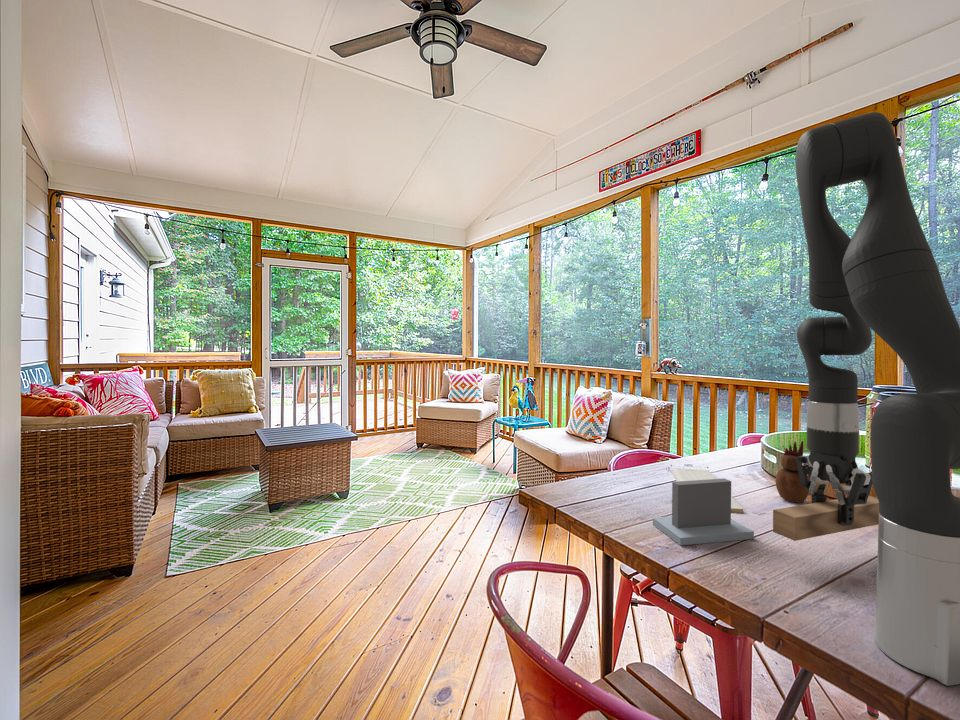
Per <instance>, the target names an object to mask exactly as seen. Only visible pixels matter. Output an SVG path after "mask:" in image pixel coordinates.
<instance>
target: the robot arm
mask: <svg viewBox="0 0 960 720" xmlns="http://www.w3.org/2000/svg"><path fill="white" fill-rule="evenodd" d="M899 149H900V148H899V144H898V142H897V138H896V135H895V132H894V128H893V126H892V123H891V122H890V121H889V119H888V118H887V117H886V116H885V115H884V114H883V113H881V112H869V113H863V114H862V113H861V114H859V115H855V116H852V117H848V118H845V119H842V120H838V121H835V122H831V123H826V124H824V125H820V126H817V127H814V128H811V129H808V130H806V131H805V132H803V134H802V135H801V136H800V138H799V139H798V142H797V146H796V149H795V151H796V152H795V174H796V183H797V191H798V196H799V197H798V198H799V204H800V209H801V210H800V211H801V215H802V216H801V217H802V223H803V229H804V234H805V240H806V247H807V252H808V255H807V256H808V267H809V268H808V271H809V272H808V298H809V299H808V300H809V303H810V305H811V306H812V307H813V308H814V309H817V310H820V311H824V312H830V313H831V312H832V313H837V314H840V315H842V316H825V317H823V316H821V317H820V316H819V317H808V318H806V319H804V320H803V321H802V322H801V323H800V324H799V326H798V327H797V330H796V338H797V342H798V346H799V348H800V351H801V354H802V357H803V359H804V363H805V366H806V371H807V378H808V379H807V380H808V403H807V409H806V448H807V450H808V451H809V454H808V455H803V456H797V457H796V463H797V467H798V472H799V476H800V481H801V485H802V487H803V488H807V489H809V493H810V494H811V503H817V502H823V501H828V500H827V494H826V492H827V489H828V485H830V484H831V489H832V490H833V491H834V492H835V494H836V497H837V499H838V502H839V504H838V524H840V525H842V526H846V525H851V524H852V523H853V521H854V506H855V505H857V504H866V502H867V499H868V496H870V494H871V489H872V488H873V490H874V493H875V497H876V498H878V501H879V524H878V533H877V535H878V536H877V561H876V562H877V563H876V565H877V566H876V593H875V594H876V595H875V599H876V600H875V601H876V602H875V629H874V631H875V633H874V635H875V636H874V639H875V641H874V642H875V643H876V645H877V647H878V648H879V649H880V650H881V651H882V652H883V653H884V654H885V655H886V656H888V657H889V658H890V659H891V660H893V661H895V662H896V663H898V664H900V665H902V666H904V667H905V668H907V669H910V670H911V671H914V672H916V673H918V674H921V675H923V676H927V677H929V678H932V679H934V680H937V681H938V682H940V683H941V684H943V685H945V686H947V687H948V686H949V687H950V686H955V685H956V686H957V685H960V496H959V497H958V496H956V495H954V494H953V491H952V486H951V485H952V484H951V472H950V471H951V470H960V325H959V322H958V319H957V317H956V314H955V312H954V309H953V307H952V306H951V303H950V301H949V297H948V295H947V293H946V290H945V286H944V283H943V279H942V276H941V273H940V271H939V268H938V265H937V262H936V259H935V257H934V254H933V252H932V250H931V247H930V245H929V243H928V241H927V238H926V235H925V233H924V231H923V229H922V226H921V223H920V220H919V218H918V215H917V211H916V209H915V207H914V204H913V201H912V198H911V195H910V191H909V188H908V182H907V180H906V175H905V171H904V167H903V162H902V158H901V154H900V150H899ZM858 181H862V182H863V183H864V185H865V187H866V193H867V204H866V207H865V210H864V212H863V215H862V218H861V220H860V222H859V224H858V226H857V228H856V229H855V232H854V234H853V236H852V238H851V237H850V236H849V235H848V234H847V233H846V232H845V230H843V228H842V227H841V226H840V225H839V224H838V222H837V221H836V220H835V218H834V217H833V215H832V214H831V211H830V209H829V207H828V201H827V193H826V191H827V189H831V188H834V187H839V186H842V185H847V184H850V183H855V182H858ZM871 330H872V331H873V332H874V333H875V334H876V335H878V337H880V338H881V339H882V340H883V341H884V342H885V343H886V344H887V345H888V346H889V347H890V348H891V349H892V350H893V351H894V352H895V353H896V354H897V356H898V357H899V358H900V359H901V361H902V362H903V364H904V366H905V367H906V370H907V371H908V373H909V375H910V377H911V381H912V383H913V386H914V389H915V393H901V394H900V393H899V394H895V395H891V396H889V397H886V398H885V399H883V400H882V401H881V402H880V403H879V404H878V405H877V407H876V408H875V410H874V413H873V415H872V417H871V418H872V419H871V423H870V456H871V457H870V458H871V461H870V462H871V472H864V470H861V469H860V468H859V467H858V464H857V461H856V457H857V456H858V455H859V454H860V412H859V405H858V401H859V399H858V397H859V396H858V393H859V392H858V391H859V390H858V387H859V385H858V384H859V381H858V380H859V379H858V375H857V373H856V372H855V371H853V370H850V369H847V368H841V367H840V368H839V367H835V366H830V365H827V364H826V363H825V362H824V361H823V360H822V356H858V355H861V354H863V353H865V352H866V351H867V350H868V349H870V348H869V347H870V346H871V345H872V341H873V335H872V331H871ZM807 475H808V477H809V481H808V480H807ZM843 484H845V485H843ZM872 486H873V487H872Z"/></svg>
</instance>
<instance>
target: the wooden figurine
mask: <svg viewBox="0 0 960 720" xmlns="http://www.w3.org/2000/svg"><path fill="white" fill-rule="evenodd" d="M804 442H805V441H803V440H802V441H801V442H800V445H799V447H797V442H796V441H794V443H793V447H792V445H789V447H788V448H787V447H786V448H784V449H785V450H784V452H783V455H782V457H781V458H780V465H781V467H782V468H781V469H779V470H778V471H777V473H776V474H775V486H776V489H777V493H778V494H779V497H780V498H782V499H783V500H785V501H786V502H790V501H791V503H798V504H799V503H804V502H805V500H806V499H807V498H808V497H809V493H810V492H809V489H807V488H803V487H802V485H801V481H800V476H799V472H798V467H797V463H796V457H797V456H804ZM807 480H808V481H809V476H808V474H807Z"/></svg>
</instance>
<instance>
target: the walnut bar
mask: <svg viewBox="0 0 960 720" xmlns="http://www.w3.org/2000/svg"><path fill="white" fill-rule="evenodd" d="M838 504H839V502H838V499H830V500H826V501H823V502H817V503H812V502H811V503H807V504H800V505H794V506H789V507H788V506H787V507H783V508H777V509H776V508H775V509H772V533H775V534H778V535H780V536H781V537H784V538H787V539H789V540H791V541H794V542H796V541H801V540H807V539H811V538H816V537H817V538H818V537H821V536H826V535H832V534H836V533H837V534H838V533H841V532H842V533H843V532H848V531H853V530H856V529H858V530H859V529H862V528H863V529H864V528H867V527H872V526H877V525H878V526H879V501H878V498H877V497H876V496H871V495H869V496H868V499H867V502H866V504H857V505H855V506H854V521H853V523H852V524H851V525H846V526H842V525H840V524H838Z"/></svg>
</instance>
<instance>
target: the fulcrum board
mask: <svg viewBox="0 0 960 720" xmlns="http://www.w3.org/2000/svg"><path fill="white" fill-rule="evenodd" d="M671 485H672V486H671V488H672V489H671V492H672V493H671V515H669V516H657V517H656V516H655V517H652V525H653V526H654V527H655V526H656V527H655V528H657V529H658V530H659V529H660V530H659V531H661V532H662V533H663V532H664V534H665V535H666V534H667V535H668V536H667V535H666V536H667V537H668V538H670V539H671V538H672V539H673V541H674V542H675V543H676V542H677V543H676V544H678V545H679V546H689V545H698V544H699V545H700V544H701V545H702V544H709V543H711V544H712V543H721V542H732V541H733V542H734V541H743V540H752V539H755V538H754V537H755V531H754V530H752V529H750V528H749V527H746V526H745V525H743V524H742V523H740V522H738V521H737V520H734V519H733V518H731V517H732V512H731V496H732V481H731V480H729V479H727V478H725V477H724V478H716V479H708V480H694V481H679V482H677V481H672V483H671ZM672 539H671V540H672Z"/></svg>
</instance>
